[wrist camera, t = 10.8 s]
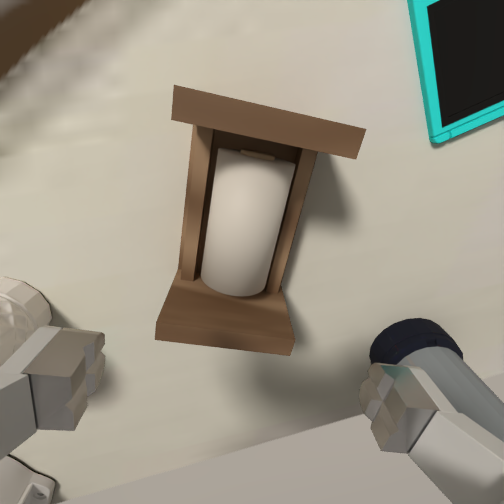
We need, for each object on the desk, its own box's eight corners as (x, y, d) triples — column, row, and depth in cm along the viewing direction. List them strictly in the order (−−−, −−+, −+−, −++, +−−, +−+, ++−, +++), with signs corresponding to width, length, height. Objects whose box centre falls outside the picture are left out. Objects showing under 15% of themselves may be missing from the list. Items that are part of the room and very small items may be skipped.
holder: (275, 291, 26) (290, 355, 19) (178, 277, 25) (154, 339, 18) (320, 127, 21) (366, 129, 13) (197, 99, 19) (173, 84, 12)
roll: (253, 265, 25) (274, 298, 20) (196, 263, 23) (206, 300, 19) (278, 153, 21) (310, 165, 17) (212, 141, 19) (229, 151, 15)
